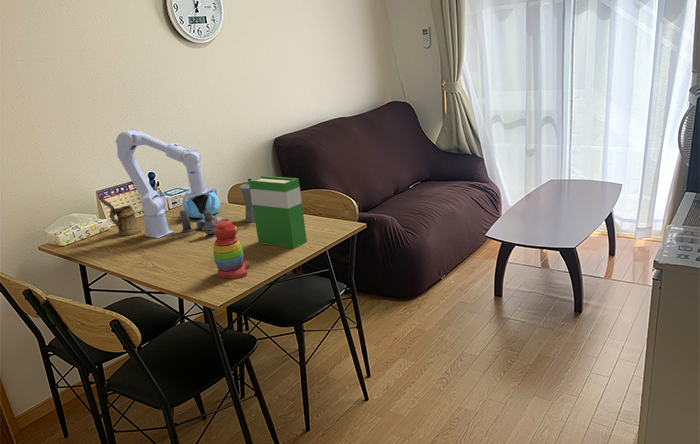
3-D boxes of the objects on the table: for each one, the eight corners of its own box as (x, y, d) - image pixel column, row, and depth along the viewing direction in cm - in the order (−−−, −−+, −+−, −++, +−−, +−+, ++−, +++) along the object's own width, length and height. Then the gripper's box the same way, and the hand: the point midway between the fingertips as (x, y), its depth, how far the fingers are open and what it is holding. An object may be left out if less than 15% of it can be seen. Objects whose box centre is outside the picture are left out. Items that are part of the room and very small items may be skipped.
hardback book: (258, 242, 195) (248, 180, 188) (271, 236, 201) (262, 175, 194) (293, 248, 185) (284, 183, 178) (306, 241, 191) (298, 178, 184)
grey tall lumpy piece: (205, 234, 212) (200, 206, 208) (220, 232, 212) (214, 204, 208) (202, 239, 206) (197, 210, 202) (217, 237, 206) (212, 208, 203)
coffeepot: (239, 218, 228) (232, 179, 222) (258, 213, 233) (252, 174, 227) (255, 226, 216) (248, 184, 210) (275, 220, 221) (269, 179, 215)
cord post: (180, 232, 218) (175, 211, 215) (188, 228, 221) (184, 208, 218) (186, 233, 215) (182, 212, 212) (195, 230, 218) (191, 209, 216)
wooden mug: (105, 237, 221) (94, 197, 215) (135, 227, 230) (125, 188, 225) (114, 240, 215) (103, 199, 210) (144, 230, 225) (135, 190, 219)
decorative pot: (218, 218, 232) (213, 189, 228) (182, 222, 231) (176, 193, 227) (224, 208, 247) (219, 180, 243) (190, 212, 247) (184, 184, 242)
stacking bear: (246, 277, 165) (237, 224, 159) (214, 281, 165) (204, 228, 159) (250, 264, 175) (241, 214, 170) (220, 267, 175) (210, 217, 169)
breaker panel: (197, 228, 220) (195, 218, 219) (212, 222, 226) (210, 212, 225) (214, 231, 214) (212, 221, 212) (229, 225, 220) (227, 215, 218)
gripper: (187, 186, 203) (194, 219, 207) (216, 177, 213) (222, 209, 218) (176, 185, 207) (183, 217, 211) (205, 176, 218) (211, 207, 222)
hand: (202, 213), depth 215 cm, fingers closed
